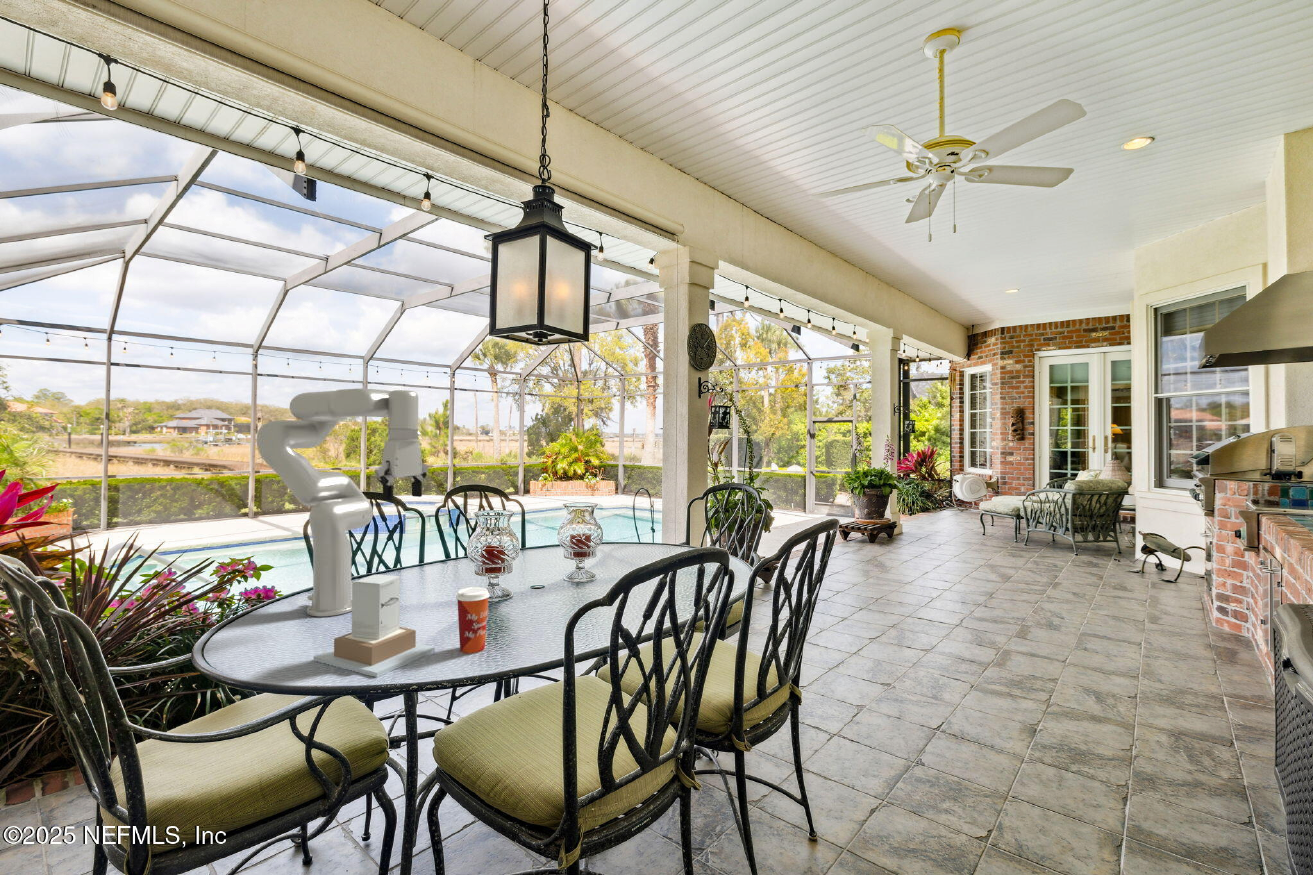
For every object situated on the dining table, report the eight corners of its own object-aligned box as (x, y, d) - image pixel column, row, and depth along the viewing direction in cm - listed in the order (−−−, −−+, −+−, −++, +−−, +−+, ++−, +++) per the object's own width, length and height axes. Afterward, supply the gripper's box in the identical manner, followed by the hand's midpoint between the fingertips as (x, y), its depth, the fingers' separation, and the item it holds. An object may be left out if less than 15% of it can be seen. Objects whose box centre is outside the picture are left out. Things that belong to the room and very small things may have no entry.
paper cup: (470, 657, 133) (471, 597, 132) (448, 650, 137) (449, 591, 136) (496, 647, 139) (497, 589, 139) (474, 640, 143) (475, 584, 143)
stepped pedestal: (313, 660, 130) (313, 637, 130) (374, 637, 144) (374, 616, 144) (377, 677, 122) (377, 652, 122) (434, 651, 136) (434, 629, 136)
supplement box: (378, 640, 129) (378, 583, 129) (350, 636, 131) (350, 581, 130) (400, 629, 136) (401, 575, 136) (373, 626, 138) (374, 573, 138)
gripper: (417, 435, 167) (417, 494, 167) (366, 435, 151) (365, 500, 151) (437, 435, 164) (437, 495, 164) (386, 436, 148) (386, 502, 148)
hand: (402, 498), depth 158 cm, fingers open, 9 cm apart
